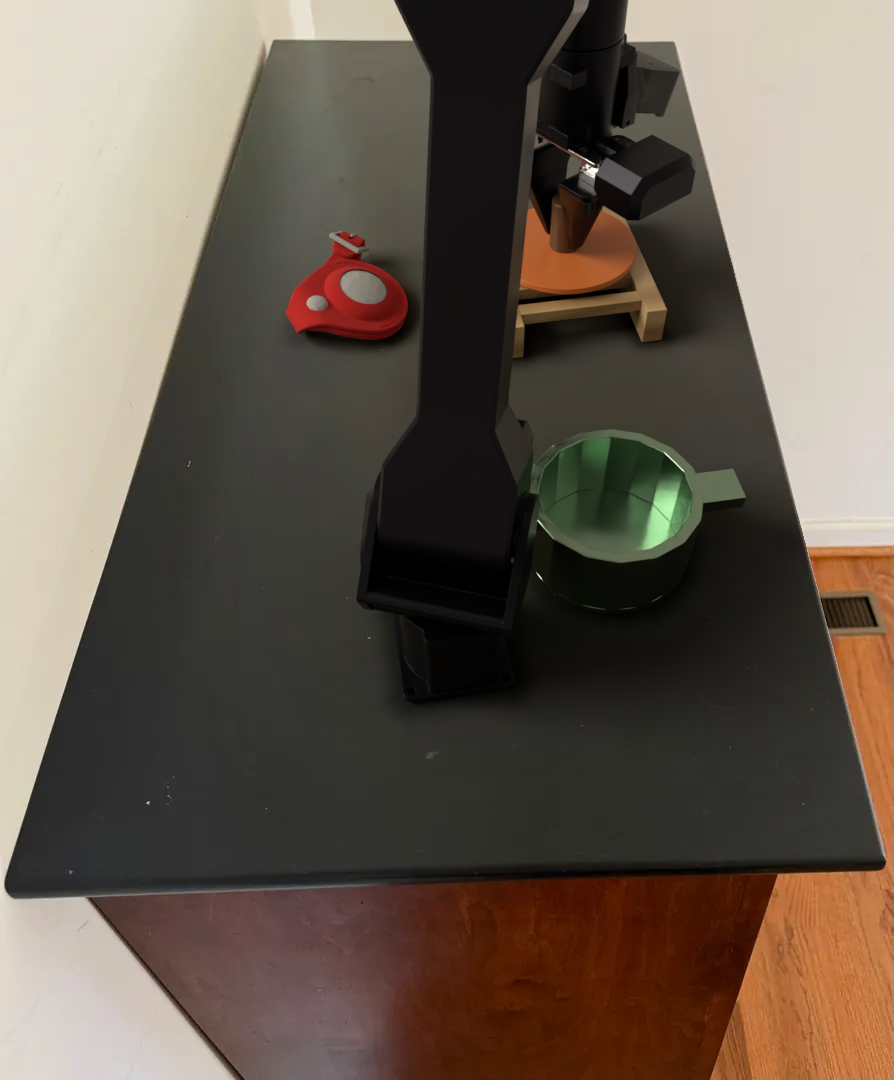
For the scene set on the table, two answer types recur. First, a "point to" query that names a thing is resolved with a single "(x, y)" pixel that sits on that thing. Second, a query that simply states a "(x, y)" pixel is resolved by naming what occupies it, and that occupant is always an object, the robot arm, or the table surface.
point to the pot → (620, 518)
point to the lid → (575, 254)
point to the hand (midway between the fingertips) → (564, 239)
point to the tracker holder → (348, 295)
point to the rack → (601, 303)
